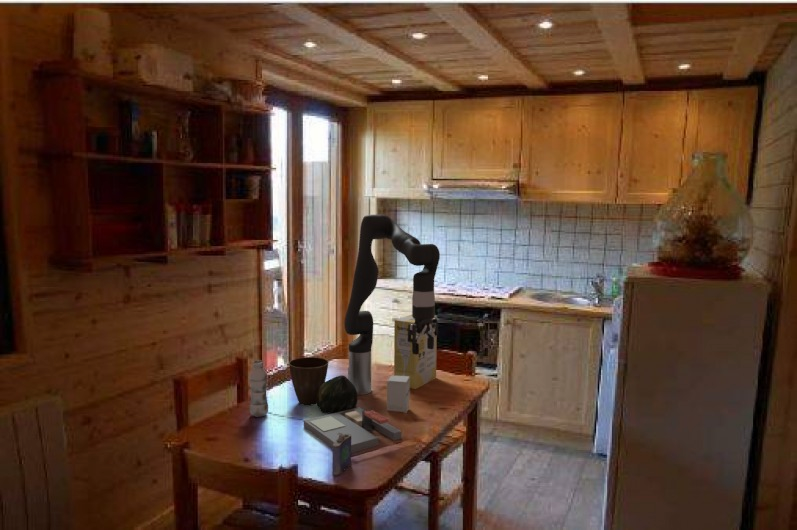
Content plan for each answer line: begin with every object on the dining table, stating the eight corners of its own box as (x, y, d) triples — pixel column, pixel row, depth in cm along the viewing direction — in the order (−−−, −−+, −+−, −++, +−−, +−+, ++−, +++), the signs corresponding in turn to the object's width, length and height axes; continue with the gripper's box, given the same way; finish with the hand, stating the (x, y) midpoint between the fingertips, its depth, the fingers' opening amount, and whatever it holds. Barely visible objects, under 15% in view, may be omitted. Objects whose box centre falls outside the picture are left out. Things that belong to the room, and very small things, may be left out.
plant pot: (324, 394, 227) (324, 355, 226) (332, 407, 213) (331, 365, 211) (287, 398, 223) (286, 358, 221) (292, 411, 209) (291, 369, 207)
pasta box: (415, 373, 256) (416, 313, 253) (436, 377, 250) (437, 315, 247) (394, 384, 240) (394, 320, 237) (415, 389, 235) (416, 323, 232)
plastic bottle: (272, 413, 206) (271, 360, 204) (260, 420, 200) (259, 365, 198) (258, 411, 209) (257, 358, 206) (246, 417, 203) (244, 363, 200)
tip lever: (341, 423, 196) (341, 401, 195) (355, 419, 199) (355, 398, 198) (377, 446, 178) (377, 421, 177) (391, 441, 181) (391, 418, 180)
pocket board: (303, 431, 190) (303, 419, 190) (359, 417, 203) (359, 406, 203) (342, 459, 169) (342, 446, 169) (401, 442, 182) (401, 430, 182)
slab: (344, 421, 195) (344, 413, 195) (355, 419, 198) (355, 410, 198) (358, 430, 188) (358, 421, 188) (368, 427, 191) (368, 418, 190)
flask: (338, 477, 159) (338, 440, 158) (329, 475, 160) (329, 438, 159) (353, 463, 167) (352, 428, 166) (344, 461, 168) (344, 427, 167)
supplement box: (406, 415, 205) (406, 382, 204) (386, 414, 206) (386, 380, 205) (409, 408, 212) (410, 376, 211) (390, 407, 214) (390, 374, 212)
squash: (310, 392, 214) (318, 370, 203) (348, 388, 220) (357, 367, 209) (317, 426, 205) (325, 405, 195) (356, 422, 211) (366, 401, 201)
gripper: (426, 300, 196) (426, 345, 198) (401, 305, 185) (401, 354, 186) (444, 302, 191) (444, 349, 193) (420, 308, 180) (419, 357, 182)
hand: (423, 351), depth 190 cm, fingers open, 8 cm apart
